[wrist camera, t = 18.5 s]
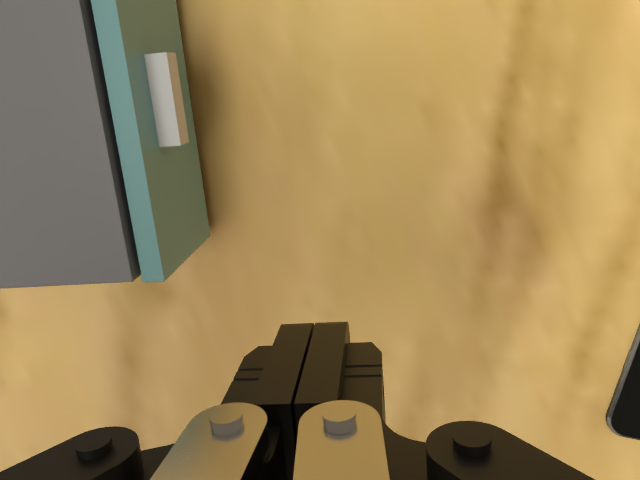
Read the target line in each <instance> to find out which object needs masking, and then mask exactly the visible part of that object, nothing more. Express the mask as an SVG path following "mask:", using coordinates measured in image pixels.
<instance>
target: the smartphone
mask: <svg viewBox="0 0 640 480" xmlns="http://www.w3.org/2000/svg"><path fill="white" fill-rule="evenodd" d="M606 422H607V425H608V426H609V428H610V429H611V431H613V432H614V433H615V434H617V435H619V436H622V437H627V438H632V439H637V440H640V324H639V327H638V330H637V332H636V335H635V338H634V341H633V343H632V346H631V349H630V351H629V353H628V356H627V358H626V361H625V364H624V366H623V370H622V373H621V376H620V378H619V381H618V384H617V386H616V389H615V392H614V394H613V397H612V400H611V402H610V405H609V408H608V410H607V413H606Z"/></svg>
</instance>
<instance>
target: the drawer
mask: <svg viewBox="0 0 640 480" xmlns="http://www.w3.org/2000/svg"><path fill="white" fill-rule="evenodd" d="M91 4H92V10H93V15H94V21H95V26H96V31H97V37H98V42H99V48H100V53H101V59H102V64H103V69H104V75H105V80H106V86H107V91H108V97H109V102H110V107H111V113H112V118H113V124H114V129H115V135H116V140H117V145H118V151H119V156H120V162H121V167H122V173H123V178H124V183H125V189H126V194H127V200H128V205H129V211H130V216H131V221H132V227H133V232H134V238H135V243H136V248H137V254H138V259H139V265H140V270H141V276H142V281H143V282H162V281H165V280H166V279H167V278H168V277H169V276H170V275H171V274H172V273H173V272H174V271H175V270H176V269H177V268H178V267H179V266H180V265H181V264H182V263H183V262H184V261H185V260H186V259H187V258H188V257H189V256H190V255H191V254H192V253H193V252H194V251H195V250H196V249H197V248H198V247H199V246H200V245H201V244H202V243H203V242H204V241H205V240H206V239H207V238H208V237H209V236H210V229H209V223H208V216H207V209H206V202H205V195H204V188H203V182H202V175H201V168H200V161H199V154H198V147H197V141H196V134H195V127H194V120H193V113H192V106H191V100H190V93H189V86H188V79H187V72H186V66H185V59H184V52H183V45H182V38H181V31H180V25H179V18H178V11H177V4H176V0H91Z"/></svg>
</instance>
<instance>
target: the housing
mask: <svg viewBox="0 0 640 480" xmlns="http://www.w3.org/2000/svg"><path fill="white" fill-rule="evenodd" d="M140 275H141V270H140V265H139V259H138V254H137V248H136V243H135V238H134V232H133V227H132V221H131V216H130V211H129V205H128V200H127V194H126V189H125V183H124V178H123V173H122V167H121V162H120V156H119V151H118V145H117V140H116V135H115V129H114V124H113V118H112V113H111V107H110V102H109V97H108V91H107V86H106V80H105V75H104V69H103V64H102V59H101V53H100V48H99V42H98V37H97V31H96V26H95V21H94V15H93V10H92V4H91V0H0V288H19V287H39V286H59V285H78V284H98V283H118V282H133V281H134V280H135V279H136V278H137V277H138V276H140Z"/></svg>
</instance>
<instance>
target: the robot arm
mask: <svg viewBox="0 0 640 480" xmlns="http://www.w3.org/2000/svg"><path fill="white" fill-rule="evenodd" d="M0 480H595V479H593V478H591V477H589V476H587V475H585V474H584V473H582V472H580V471H578V470H576V469H574V468H573V467H571V466H569V465H567V464H565V463H563V462H562V461H560V460H558V459H556V458H554V457H552V456H551V455H549V454H547V453H545V452H543V451H541V450H540V449H538V448H536V447H534V446H532V445H530V444H529V443H527V442H525V441H523V440H521V439H519V438H518V437H516V436H514V435H512V434H510V433H508V432H507V431H505V430H503V429H501V428H499V427H497V426H494V425H491V424H487V423H483V422H476V421H458V422H452V423H448V424H445V425H442V426H440V427H438V428H436V429H435V430H434V431H432V432H431V433H430V435H429V436H428V438H427V440H426V443H425V442H419V441H415V440H411V439H408V438H405V437H402V436H400V435H398V434H396V433H395V432H393V431H392V430H391V429H390V428H389V427H388V426H387V425H386V424H385V403H384V386H383V369H382V352H381V351H380V350H379V349H378V348H377V347H376V346H375V345H374V344H373V343H372V342H365V343H350V333H349V325H348V322H328V323H315V325H314V323H304V324H282V325H281V326H280V329H279V331H278V334H277V336H276V338H275V341H274V343H273V346H258V347H257V348H256V349H254V350H253V351H252V352H250V353H249V354H248V355H246V356H245V357H244V359H243V361H242V363H241V365H240V367H239V369H238V371H237V373H236V375H235V377H234V381H232V383H231V385H230V387H229V389H228V391H227V393H226V395H225V397H224V399H223V401H222V403H221V405H217V406H214V407H211V408H209V409H206V410H205V411H203V412H201V413H199V414H198V415H196V416H195V417H194V418H193V419H192V420H191V421H190V422H189V424H188V425H187V427H186V428H185V430H184V431H183V432H182V434H181V435H180V437H179V438H178V440H177V441H176V443H175V444H171V445H167V446H162V447H157V448H152V449H148V450H143V451H141V450H140V445H139V439H138V436H137V434H136V433H135V432H134V431H132V430H130V429H128V428H124V427H104V428H98V429H94V430H90V431H87V432H84V433H82V434H80V435H77V436H75V437H73V438H71V439H69V440H67V441H65V442H62V443H60V444H58V445H56V446H54V447H52V448H50V449H48V450H46V451H44V452H41V453H39V454H37V455H35V456H33V457H31V458H29V459H27V460H25V461H22V462H20V463H18V464H16V465H14V466H12V467H10V468H8V469H6V470H4V471H1V472H0Z"/></svg>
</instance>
